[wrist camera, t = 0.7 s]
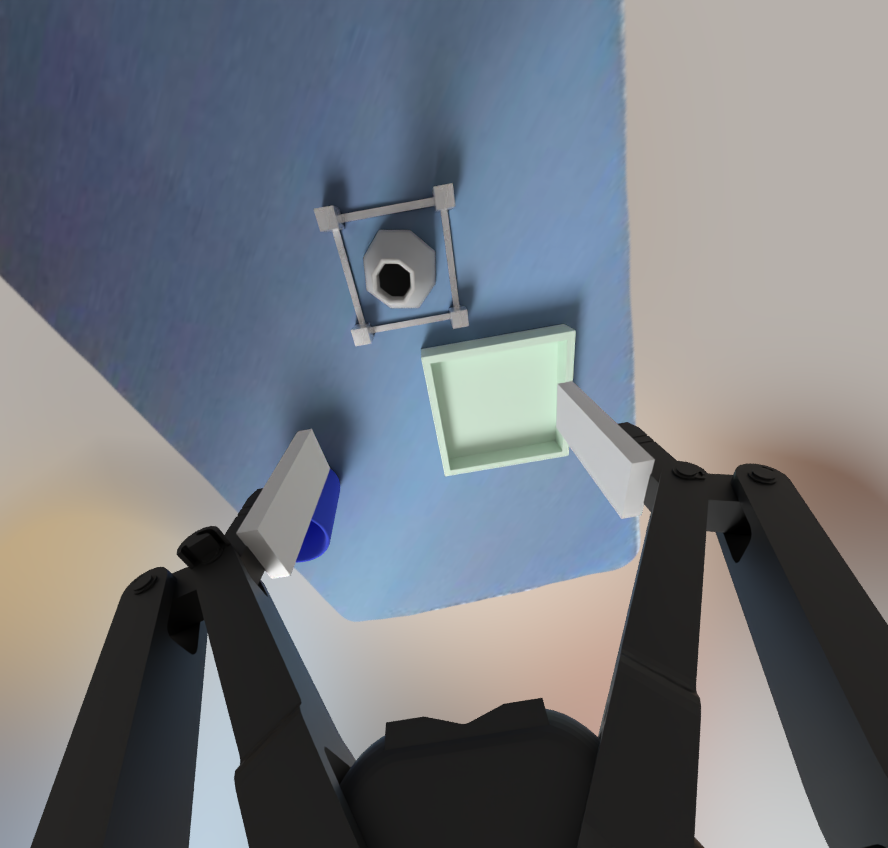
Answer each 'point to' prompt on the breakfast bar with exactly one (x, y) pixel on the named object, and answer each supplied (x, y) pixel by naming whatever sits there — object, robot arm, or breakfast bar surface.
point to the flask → (399, 268)
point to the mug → (321, 521)
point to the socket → (334, 220)
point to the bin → (499, 397)
